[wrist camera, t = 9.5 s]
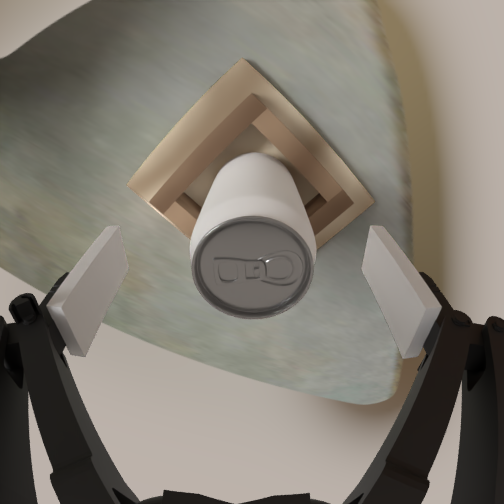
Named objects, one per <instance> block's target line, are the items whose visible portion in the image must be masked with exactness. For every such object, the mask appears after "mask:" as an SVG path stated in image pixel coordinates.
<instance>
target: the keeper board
mask: <svg viewBox="0 0 504 504" xmlns="http://www.w3.org/2000/svg"><path fill="white" fill-rule="evenodd" d="M251 152H257V153H264V154H267V155H270V156H272V157H274V158H276V159H278V160H279V161H280V162H281V163H283V164H284V165H285V167H286V168H287V169H288V170H289V172H290V174H291V176H292V178H293V180H294V183H295V185H296V187H297V190H298V192H299V195H300V197H301V200H302V203H303V205H304V208H305V210H306V213H307V216H308V218H309V221H310V224H311V227H312V230H313V233H314V236H315V241H316V250H317V249H319V248H320V247H321V246H322V245H324V244H325V243H326V242H327V241H329V240H330V239H331V238H332V237H333V236H335V235H336V234H337V233H338V232H340V231H341V230H342V229H343V228H344V227H346V226H347V225H348V224H349V223H351V222H352V221H353V220H354V219H355V218H357V217H358V216H359V215H360V214H361V213H363V212H364V211H365V210H366V209H367V208H369V207H370V206H371V205H372V204H373V203H375V201H374V199H373V198H372V197H371V196H370V194H369V193H368V192H367V190H366V189H365V188H364V187H363V185H362V184H361V183H360V182H359V180H358V179H357V178H356V177H355V175H354V174H353V173H352V172H351V170H350V169H349V168H348V167H347V166H346V164H345V163H344V162H343V161H342V160H341V158H340V157H339V156H338V155H337V154H336V153H335V151H334V150H333V149H332V148H331V147H330V146H329V144H328V143H327V142H326V141H325V140H324V139H323V138H322V137H321V135H320V134H319V133H318V132H317V131H316V130H315V129H314V128H313V127H312V126H311V124H310V123H309V122H308V121H307V120H306V119H305V118H304V117H303V116H302V115H301V114H300V113H299V112H298V111H297V110H296V109H295V108H294V107H293V105H292V104H291V103H290V102H289V101H288V100H287V99H286V98H285V97H284V96H283V95H282V94H281V93H280V92H279V91H278V90H277V89H276V88H275V87H273V86H272V85H271V84H270V83H269V82H268V81H267V80H266V79H265V78H264V77H263V76H262V75H261V74H260V73H259V72H258V71H257V70H256V69H254V68H253V67H252V66H251V65H250V64H249V63H248V62H247V61H246V60H245V59H243V58H241V59H240V60H239V61H238V62H237V63H236V64H235V65H234V66H232V67H231V68H230V69H229V70H228V71H227V72H226V73H225V74H224V75H223V76H222V77H221V78H220V79H219V80H218V81H217V82H216V83H215V84H214V85H213V86H212V87H211V88H210V89H209V90H208V91H207V92H206V93H205V94H204V95H203V96H202V97H201V98H200V99H199V100H198V101H197V102H196V103H195V104H194V105H193V106H192V107H191V108H190V110H189V111H188V112H187V113H186V114H185V115H184V116H183V117H182V118H181V119H180V120H179V122H178V123H177V124H176V125H175V126H174V127H173V128H172V129H171V131H170V132H169V133H168V134H167V135H166V136H165V137H164V139H163V140H162V141H161V142H160V143H159V144H158V146H157V147H156V148H155V149H154V150H153V152H152V153H151V154H150V155H149V157H148V158H147V159H146V160H145V161H144V163H143V164H142V165H141V166H140V168H139V169H138V170H137V172H136V173H135V174H134V175H133V177H132V178H131V179H130V181H129V182H128V183H127V184H126V185H127V186H128V187H129V188H130V189H131V190H133V191H134V192H135V193H136V194H137V195H138V196H139V197H141V198H142V199H143V200H144V201H145V202H146V203H148V204H149V205H150V206H151V207H152V208H153V209H155V210H156V211H157V212H158V213H159V214H160V215H162V216H163V217H164V218H165V219H166V220H167V221H169V222H170V223H171V224H172V225H173V226H175V227H176V228H177V229H178V230H179V231H181V232H182V233H183V234H184V235H185V236H186V237H188V238H189V239H190V240H191V236H192V233H193V230H194V227H195V224H196V222H197V219H198V217H199V214H200V212H201V209H202V207H203V205H204V202H205V200H206V198H207V195H208V193H209V191H210V189H211V186H212V184H213V182H214V180H215V178H216V176H217V174H218V172H219V171H220V169H221V168H222V167H223V166H224V164H225V163H227V162H228V161H229V160H230V159H232V158H234V157H236V156H238V155H241V154H244V153H251Z"/></svg>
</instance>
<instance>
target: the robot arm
mask: <svg viewBox="0 0 504 504" xmlns="http://www.w3.org/2000/svg"><path fill="white" fill-rule="evenodd" d="M128 270H129V266H128V262H127V258H126V253H125V249H124V244H123V240H122V235H121V230H120V226H107V227H106V228H105V229H104V230H103V232H102V233H101V234H100V235H99V236H98V238H97V239H96V240H95V241H94V242H93V244H92V245H91V246H90V247H89V249H88V250H87V251H86V252H85V254H84V255H83V256H82V258H81V259H80V260H79V261H78V263H77V264H76V265H75V267H74V268H73V269H72V271H71V272H70V273H69V272H67V273H66V274H64V275H63V276H62V277H60V278H59V279H58V280H57V282H56V283H55V284H54V287H52V289H51V290H50V292H49V293H48V294H47V295H46V297H45V299H44V300H43V301H42V302H41V304H40V305H38V303H37V301H36V298H35V296H34V295H33V294H31V293H25V294H22V295H19V296H18V297H16V298H15V299H14V300H13V301H12V302H11V303H10V305H9V311H10V313H11V315H12V317H13V319H14V320H15V322H16V323H10V324H7V323H6V321H5V320H4V318H3V317H2V316H0V504H38V503H37V497H36V492H35V486H34V479H33V471H32V463H31V453H30V440H29V418H28V391H29V395H30V399H31V403H32V407H33V410H34V414H35V418H36V421H37V425H38V428H39V431H40V434H41V437H42V440H43V443H44V446H45V449H46V452H47V454H48V457H49V460H50V462H51V465H52V468H53V473H51V474H50V480H51V483H52V486H53V488H54V491H55V493H56V495H57V497H58V500H59V502H60V504H232V503H228V502H225V501H221V500H217V499H214V498H210V497H207V496H204V495H200V494H194V493H185V492H176V491H169V490H164V492H163V496H158V497H153V498H149V499H146V500H143V501H141V502H140V501H139V499H138V498H137V497H136V495H135V494H134V493H133V492H132V491H131V489H130V488H129V487H128V486H127V484H126V483H125V482H124V480H123V478H122V477H121V475H120V473H119V472H118V470H117V468H116V467H115V465H114V463H113V462H112V460H111V458H110V456H109V454H108V452H107V451H106V449H105V447H104V445H103V443H102V441H101V439H100V437H99V436H98V433H97V431H96V430H95V427H94V425H93V423H92V421H91V419H90V417H89V414H88V412H87V410H86V408H85V406H84V404H83V401H82V399H81V396H80V394H79V392H78V389H77V387H76V384H75V382H74V379H73V377H72V374H71V371H70V368H69V366H68V363H67V360H66V357H65V356H64V354H63V350H64V348H65V346H67V348H68V350H69V352H70V354H71V355H75V356H81V357H86V354H87V352H88V350H89V348H90V345H91V343H92V341H93V339H94V337H95V335H96V333H97V331H98V328H99V326H100V324H101V322H102V320H103V318H104V316H105V314H106V312H107V310H108V308H109V306H110V304H111V302H112V301H113V299H114V297H115V295H116V293H117V291H118V289H119V287H120V285H121V283H122V281H123V280H124V278H125V276H126V274H127V272H128ZM361 270H362V272H363V274H364V276H365V278H366V280H367V282H368V284H369V286H370V288H371V290H372V292H373V294H374V296H375V298H376V301H377V303H378V305H379V307H380V309H381V311H382V313H383V315H384V317H385V320H386V322H387V324H388V326H389V328H390V331H391V333H392V335H393V337H394V340H395V342H396V344H397V346H398V349H399V351H400V353H401V356H402V358H403V359H405V358H412V357H417V356H418V355H419V353H420V352H421V350H422V347H424V349H425V351H426V355H425V357H424V359H423V361H422V363H421V364H420V366H419V368H418V374H417V376H416V378H415V381H414V383H413V385H412V388H411V390H410V392H409V394H408V396H407V398H406V400H405V403H404V405H403V407H402V409H401V411H400V413H399V415H398V417H397V419H396V421H395V423H394V425H393V427H392V428H391V430H390V432H389V434H388V436H387V438H386V440H385V441H384V443H383V445H382V447H381V448H380V450H379V452H378V453H377V455H376V457H375V458H374V460H373V462H372V463H371V465H370V467H369V468H368V470H367V472H366V473H365V475H364V476H363V478H362V479H361V481H360V482H359V484H358V485H357V486H356V488H355V489H354V490H353V492H352V493H351V494H350V495H349V496H348V498H347V499H346V500H345V501H344V502H343V504H421V503H422V501H423V499H424V497H425V495H426V493H427V490H428V488H429V483H430V482H429V480H427V477H428V474H429V472H430V469H431V467H432V465H433V462H434V460H435V458H436V455H437V453H438V450H439V448H440V445H441V443H442V440H443V437H444V435H445V432H446V429H447V426H448V423H449V420H450V417H451V414H452V412H453V408H454V405H455V402H456V398H457V395H458V391H459V388H460V384H461V380H462V413H461V432H460V444H459V454H458V462H457V470H456V477H455V483H454V489H453V495H452V500H451V504H504V320H503V319H501V318H498V317H496V316H491V317H489V318H488V319H487V321H486V323H485V325H481V324H475V323H472V321H471V319H470V318H469V317H468V316H467V315H466V314H465V313H463V312H461V311H457V310H453V308H452V307H451V305H450V304H449V303H448V301H447V300H446V298H445V297H444V295H443V294H442V293H441V292H440V290H439V288H438V287H436V284H435V283H434V281H433V280H432V279H431V278H430V277H429V276H428V275H426V274H425V273H424V272H418V271H417V270H416V269H415V267H414V266H413V264H412V263H411V262H410V260H409V259H408V258H407V256H406V255H405V254H404V252H403V251H402V250H401V248H400V247H399V246H398V244H397V243H396V242H395V240H394V239H393V238H392V237H391V235H390V234H389V233H388V231H387V230H386V229H385V228H384V226H376V225H370V229H369V234H368V239H367V244H366V249H365V254H364V258H363V263H362V267H361ZM241 504H329V503H326V502H324V501H319V500H314V499H310V493H306V494H293V495H277V496H271V497H267V498H263V499H259V500H254V501H250V502H245V503H241Z"/></svg>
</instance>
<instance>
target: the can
mask: <svg viewBox="0 0 504 504" xmlns="http://www.w3.org/2000/svg"><path fill="white" fill-rule="evenodd" d="M190 260H191V264H192V276H193V280H194V283H195V285H196V287H197V289H198V291H199V293H200V294H201V295H202V297H203V298H204V299H205V300H206V301H207V302H208V303H209V304H210V305H212V306H213V307H214V308H216V309H217V310H219V311H221V312H223V313H225V314H228V315H230V316H234V317H238V318H243V319H263V318H268V317H272V316H276V315H278V314H281V313H283V312H285V311H287V310H289V309H290V308H292V307H293V306H294V305H296V304H297V303H298V302H299V301H300V300H301V299H302V298H303V296H304V295H305V294H306V292H307V290H308V289H309V287H310V284H311V282H312V278H313V272H314V265H315V261H316V241H315V236H314V233H313V230H312V227H311V224H310V221H309V218H308V216H307V213H306V210H305V208H304V205H303V203H302V200H301V197H300V195H299V192H298V190H297V187H296V185H295V183H294V180H293V178H292V176H291V174H290V172H289V170H288V169H287V168H286V167H285V165H284V164H283V163H281V162H280V161H279V160H278V159H276V158H274V157H272V156H270V155H267V154H264V153H257V152H251V153H244V154H241V155H238V156H236V157H234V158H232V159H230V160H229V161H228V162H227V163H225V164H224V166H223V167H222V168H221V169H220V171H219V172H218V174H217V176H216V178H215V180H214V182H213V184H212V186H211V189H210V191H209V193H208V195H207V198H206V200H205V202H204V205H203V207H202V209H201V212H200V214H199V217H198V219H197V222H196V224H195V227H194V230H193V233H192V236H191V241H190Z"/></svg>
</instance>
